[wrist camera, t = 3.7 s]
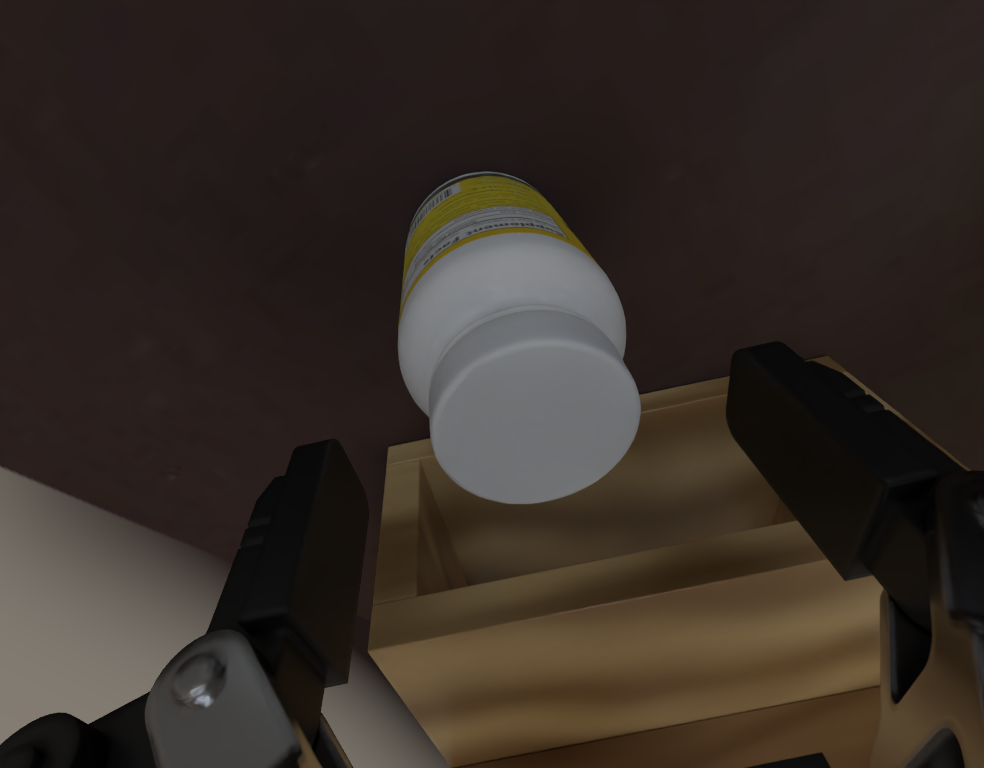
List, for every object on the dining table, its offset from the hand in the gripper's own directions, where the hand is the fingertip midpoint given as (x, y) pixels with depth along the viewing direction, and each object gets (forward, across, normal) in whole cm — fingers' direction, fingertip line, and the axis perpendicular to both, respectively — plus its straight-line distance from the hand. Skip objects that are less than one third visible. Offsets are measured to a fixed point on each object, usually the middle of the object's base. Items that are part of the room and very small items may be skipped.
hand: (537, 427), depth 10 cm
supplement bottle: (+9, 0, -1) cm, 9 cm away
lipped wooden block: (+9, -4, +14) cm, 17 cm away
